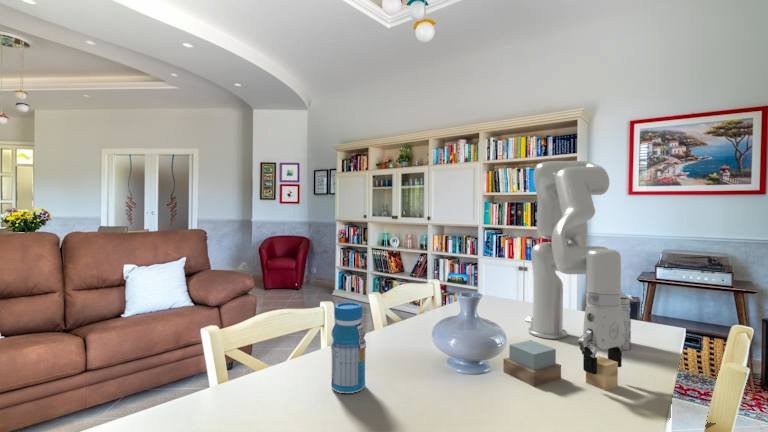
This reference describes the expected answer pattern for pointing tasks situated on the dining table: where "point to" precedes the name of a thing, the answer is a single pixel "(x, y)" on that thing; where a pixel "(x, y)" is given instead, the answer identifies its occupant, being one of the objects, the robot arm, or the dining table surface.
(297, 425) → the dining table surface
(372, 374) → the dining table surface
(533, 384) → the walnut slab
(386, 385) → the dining table surface
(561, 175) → the robot arm
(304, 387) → the dining table surface
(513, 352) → the slate-grey block
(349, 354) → the beverage bottle
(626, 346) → the candy bar box
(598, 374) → the oak block
